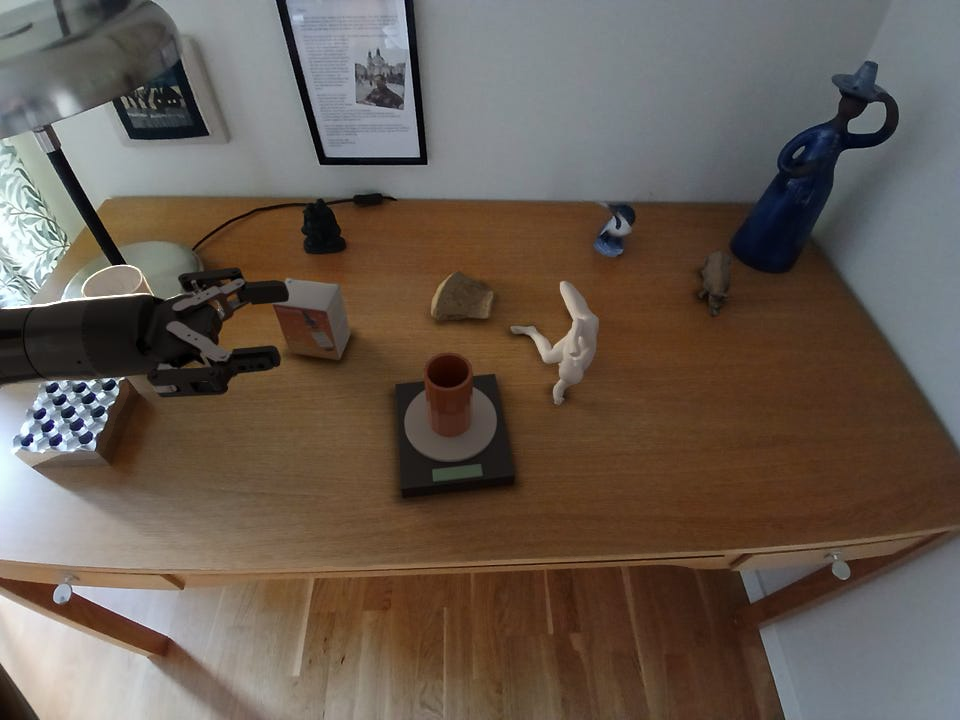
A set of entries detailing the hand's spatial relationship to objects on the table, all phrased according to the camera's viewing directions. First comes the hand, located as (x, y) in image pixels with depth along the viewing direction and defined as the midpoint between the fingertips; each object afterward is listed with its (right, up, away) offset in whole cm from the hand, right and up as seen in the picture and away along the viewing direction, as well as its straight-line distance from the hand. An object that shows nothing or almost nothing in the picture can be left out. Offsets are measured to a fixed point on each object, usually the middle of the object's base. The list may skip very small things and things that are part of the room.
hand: (283, 321), depth 53 cm
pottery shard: (+17, +6, +38) cm, 42 cm away
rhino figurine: (+57, +6, +39) cm, 69 cm away
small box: (-5, -1, +32) cm, 32 cm away
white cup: (-33, +1, +33) cm, 47 cm away
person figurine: (+32, -4, +30) cm, 44 cm away
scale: (+15, -14, +22) cm, 30 cm away
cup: (+15, -11, +20) cm, 27 cm away
